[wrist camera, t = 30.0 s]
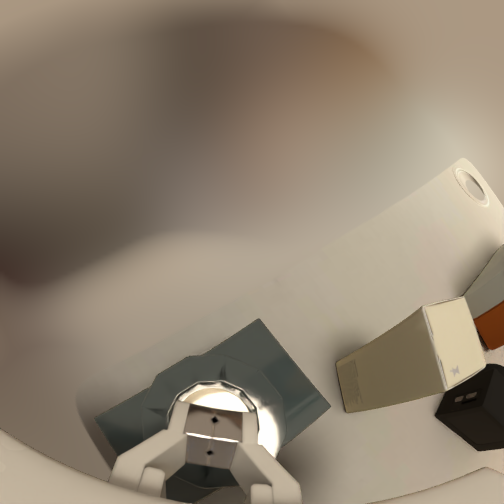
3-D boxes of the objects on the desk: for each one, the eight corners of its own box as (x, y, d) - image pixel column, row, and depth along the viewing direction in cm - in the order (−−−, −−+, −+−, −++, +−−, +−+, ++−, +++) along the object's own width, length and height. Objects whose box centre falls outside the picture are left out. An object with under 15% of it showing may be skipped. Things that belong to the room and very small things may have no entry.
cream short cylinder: (206, 463, 10) (205, 470, 9) (167, 412, 12) (160, 412, 10) (258, 428, 12) (267, 430, 10) (220, 379, 13) (222, 374, 11)
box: (384, 401, 22) (490, 370, 12) (343, 414, 22) (447, 396, 11) (372, 349, 25) (466, 292, 14) (332, 359, 24) (422, 304, 13)
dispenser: (182, 477, 17) (161, 530, 7) (138, 418, 19) (78, 417, 9) (282, 411, 21) (347, 403, 11) (238, 356, 23) (265, 304, 13)
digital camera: (493, 413, 22) (535, 401, 16) (478, 451, 19) (523, 445, 13) (452, 374, 24) (497, 356, 18) (434, 415, 22) (483, 405, 16)
